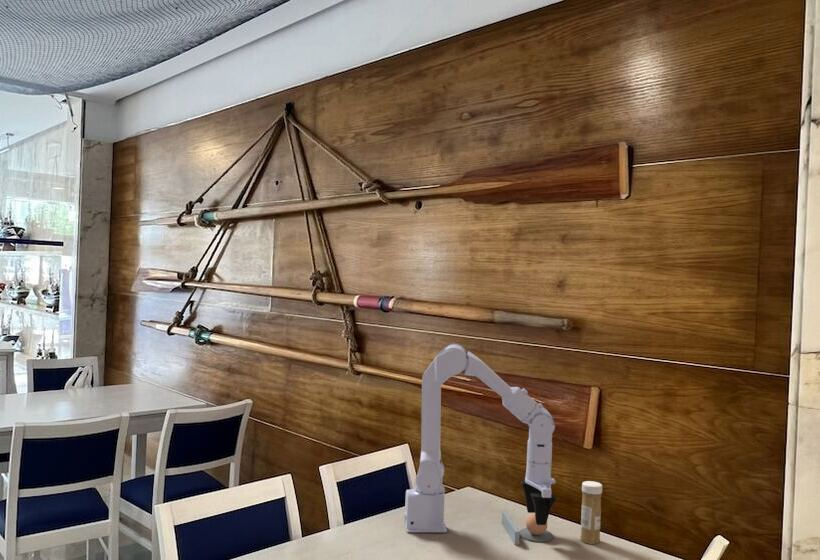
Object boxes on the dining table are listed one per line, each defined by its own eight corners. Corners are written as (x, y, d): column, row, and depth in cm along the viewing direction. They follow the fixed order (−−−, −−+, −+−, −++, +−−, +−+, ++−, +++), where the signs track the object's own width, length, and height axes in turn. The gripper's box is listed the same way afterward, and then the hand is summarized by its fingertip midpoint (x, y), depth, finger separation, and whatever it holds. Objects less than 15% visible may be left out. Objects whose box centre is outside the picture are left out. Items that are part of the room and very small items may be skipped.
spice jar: (603, 544, 152) (605, 486, 152) (584, 545, 152) (586, 486, 152) (595, 536, 157) (597, 480, 157) (576, 537, 156) (579, 480, 156)
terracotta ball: (528, 538, 153) (529, 517, 153) (522, 529, 158) (524, 509, 158) (549, 538, 154) (550, 517, 154) (543, 530, 159) (544, 509, 159)
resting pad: (523, 542, 152) (523, 541, 152) (515, 528, 160) (515, 527, 160) (557, 542, 153) (557, 541, 153) (547, 529, 161) (547, 527, 161)
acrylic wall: (514, 544, 150) (515, 531, 150) (501, 523, 163) (502, 511, 163) (519, 544, 150) (519, 531, 150) (505, 523, 163) (506, 511, 163)
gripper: (565, 470, 149) (562, 530, 149) (546, 452, 164) (544, 507, 164) (534, 469, 149) (532, 529, 149) (518, 452, 163) (516, 507, 163)
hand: (536, 518), depth 156 cm, fingers open, 7 cm apart
